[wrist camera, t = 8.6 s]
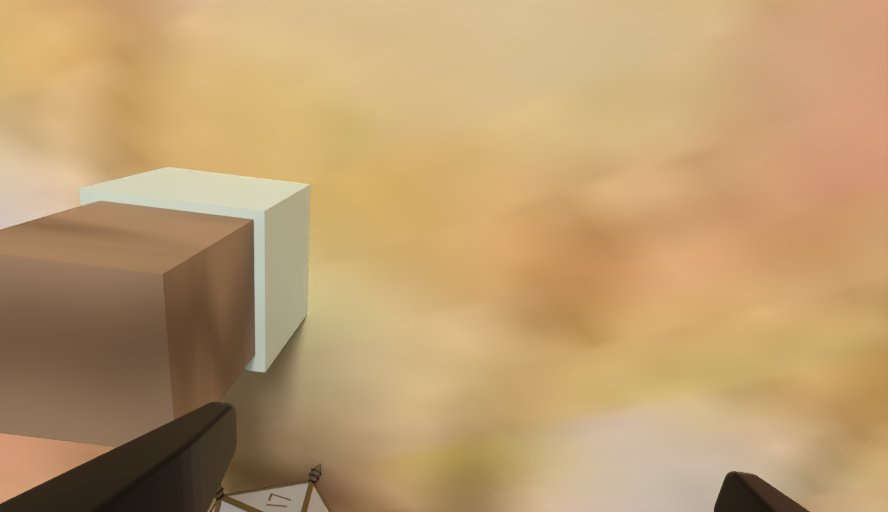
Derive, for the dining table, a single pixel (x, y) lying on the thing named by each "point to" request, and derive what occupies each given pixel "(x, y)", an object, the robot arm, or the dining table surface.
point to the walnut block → (121, 319)
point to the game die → (275, 498)
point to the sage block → (275, 236)
